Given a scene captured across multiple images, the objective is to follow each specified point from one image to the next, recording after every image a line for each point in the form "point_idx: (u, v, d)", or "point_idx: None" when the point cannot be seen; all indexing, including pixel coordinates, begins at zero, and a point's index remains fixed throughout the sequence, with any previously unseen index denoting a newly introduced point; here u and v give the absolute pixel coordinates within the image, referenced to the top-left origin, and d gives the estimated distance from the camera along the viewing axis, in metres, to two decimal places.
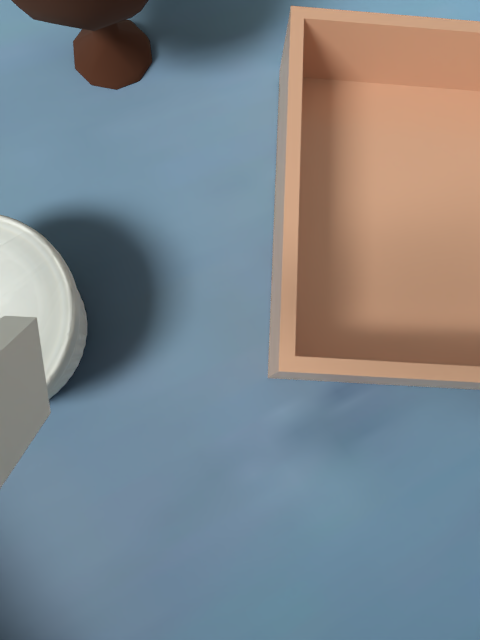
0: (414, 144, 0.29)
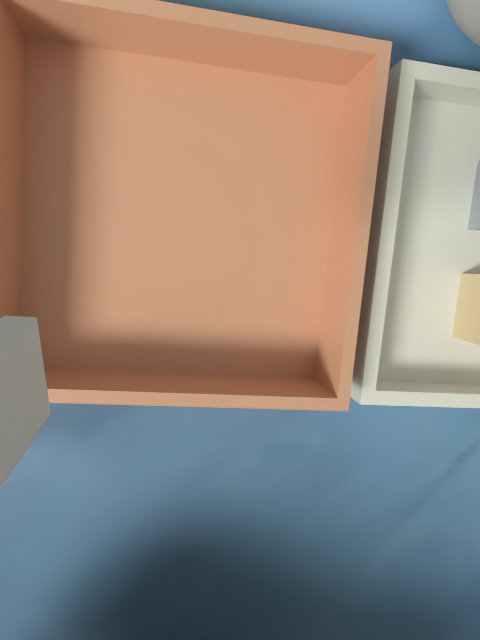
0: (166, 135, 0.28)
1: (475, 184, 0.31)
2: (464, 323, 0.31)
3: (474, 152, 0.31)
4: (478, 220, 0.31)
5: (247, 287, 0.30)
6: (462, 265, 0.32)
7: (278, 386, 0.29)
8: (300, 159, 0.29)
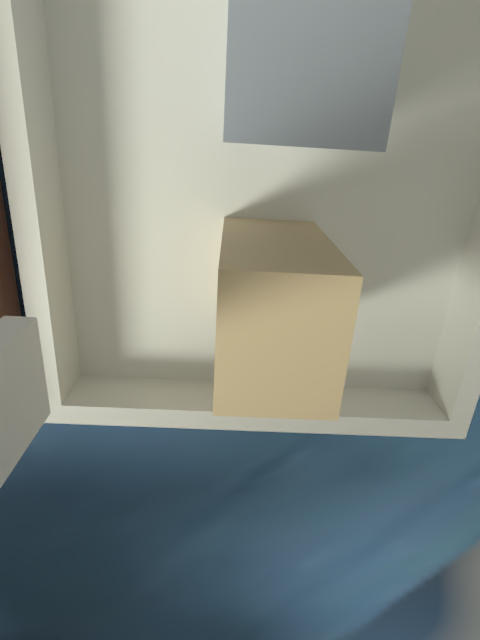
0: None
1: None
2: None
3: None
4: None
5: None
6: (225, 203, 0.19)
7: None
8: None
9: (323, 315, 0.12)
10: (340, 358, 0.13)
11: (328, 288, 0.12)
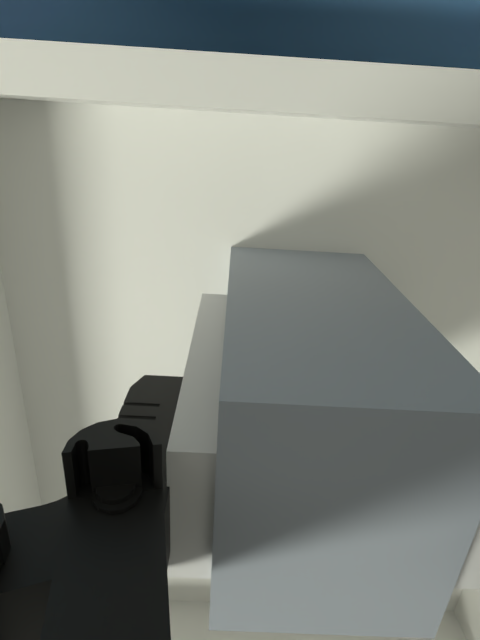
0: None
1: None
2: None
3: (220, 226, 0.13)
4: None
5: None
6: None
7: None
8: None
9: None
10: None
11: None
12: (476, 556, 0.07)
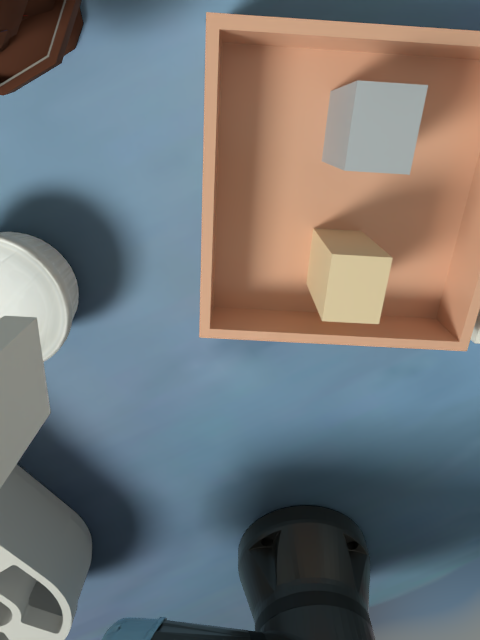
0: None
1: (327, 115, 0.32)
2: (310, 274, 0.36)
3: None
4: (324, 154, 0.32)
5: (389, 247, 0.36)
6: None
7: (409, 327, 0.37)
8: (449, 135, 0.33)
9: (374, 274, 0.29)
10: (381, 294, 0.29)
11: (377, 262, 0.29)
12: None
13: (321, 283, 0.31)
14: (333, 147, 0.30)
